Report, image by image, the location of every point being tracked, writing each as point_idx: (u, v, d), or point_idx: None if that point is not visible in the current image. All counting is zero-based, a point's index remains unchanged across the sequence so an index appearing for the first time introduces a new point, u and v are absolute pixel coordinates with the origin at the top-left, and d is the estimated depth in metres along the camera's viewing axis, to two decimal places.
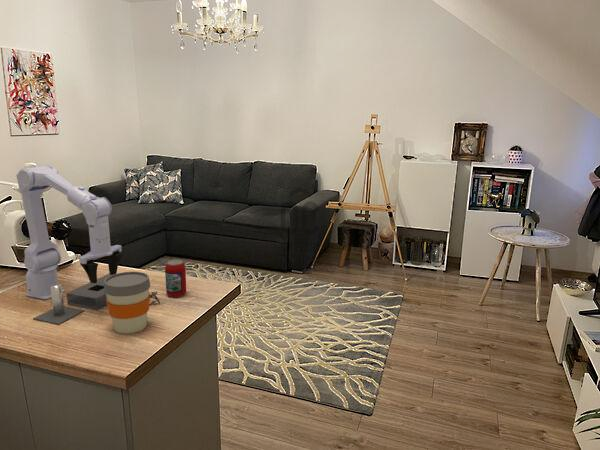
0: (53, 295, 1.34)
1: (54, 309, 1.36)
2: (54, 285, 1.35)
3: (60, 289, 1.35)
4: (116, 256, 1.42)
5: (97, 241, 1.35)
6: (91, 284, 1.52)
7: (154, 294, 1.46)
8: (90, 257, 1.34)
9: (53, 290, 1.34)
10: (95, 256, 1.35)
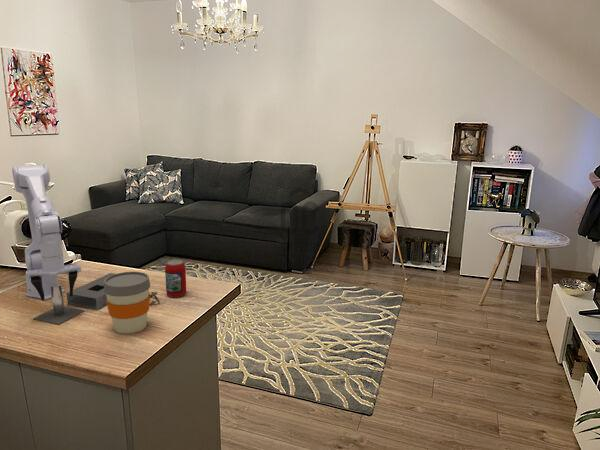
0: (53, 295, 1.34)
1: (54, 309, 1.36)
2: (54, 285, 1.35)
3: (60, 289, 1.35)
4: (68, 277, 1.34)
5: (43, 258, 1.30)
6: (91, 284, 1.52)
7: (154, 294, 1.46)
8: (34, 273, 1.31)
9: (53, 290, 1.34)
10: (39, 273, 1.31)
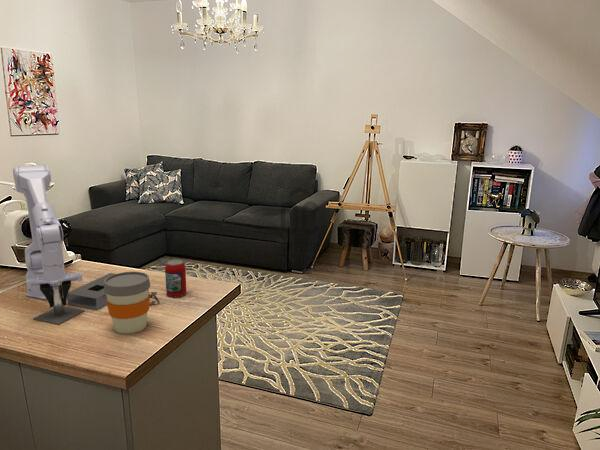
0: (53, 295, 1.34)
1: (54, 309, 1.36)
2: (54, 285, 1.35)
3: (60, 289, 1.35)
4: None
5: (44, 267, 1.31)
6: (91, 284, 1.52)
7: (154, 294, 1.46)
8: (35, 282, 1.31)
9: (53, 290, 1.34)
10: (40, 282, 1.31)
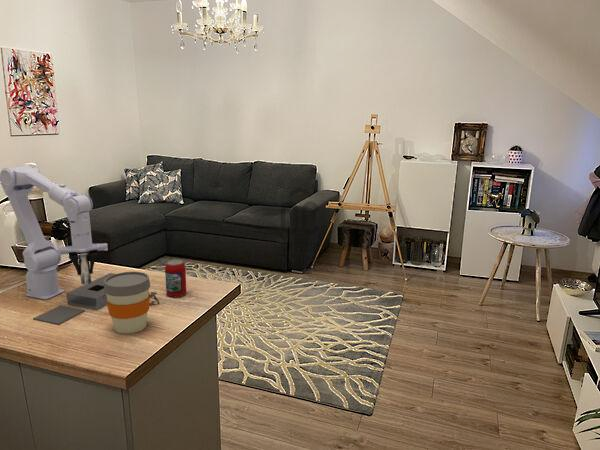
0: (80, 264, 1.42)
1: (81, 277, 1.43)
2: (82, 254, 1.42)
3: (87, 258, 1.42)
4: (89, 255, 1.41)
5: (72, 236, 1.38)
6: (91, 284, 1.52)
7: (153, 294, 1.46)
8: (64, 250, 1.39)
9: (80, 259, 1.41)
10: (69, 250, 1.39)
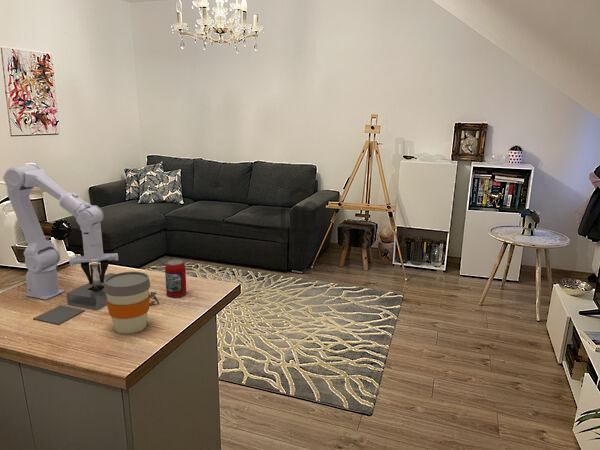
0: (92, 273, 1.46)
1: (93, 286, 1.47)
2: (93, 264, 1.47)
3: (98, 268, 1.47)
4: (100, 265, 1.45)
5: (85, 247, 1.43)
6: (91, 284, 1.52)
7: (153, 294, 1.45)
8: (76, 260, 1.43)
9: (92, 268, 1.45)
10: (81, 260, 1.43)
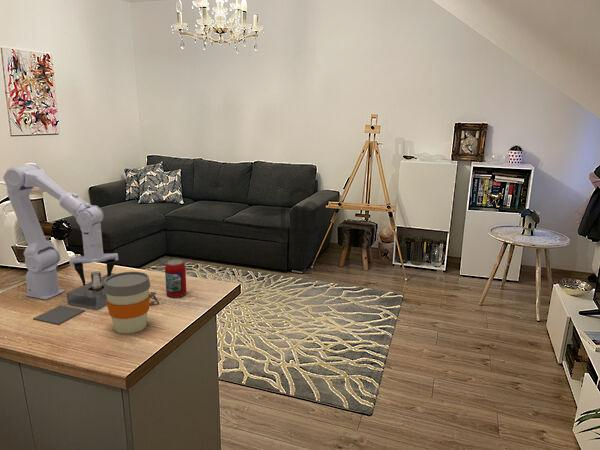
0: (93, 281, 1.47)
1: None
2: (94, 272, 1.47)
3: (99, 276, 1.47)
4: (107, 264, 1.46)
5: (85, 247, 1.43)
6: (91, 284, 1.52)
7: (153, 294, 1.45)
8: (76, 260, 1.43)
9: (93, 277, 1.46)
10: (81, 260, 1.43)
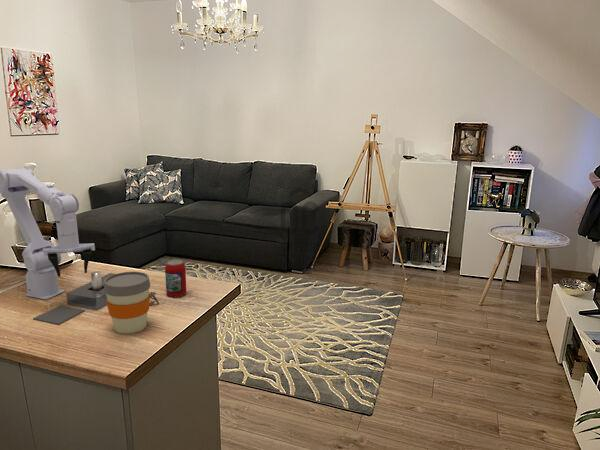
0: (93, 281, 1.47)
1: None
2: (94, 272, 1.47)
3: (99, 276, 1.47)
4: (83, 254, 1.42)
5: (59, 236, 1.38)
6: (91, 284, 1.52)
7: (153, 294, 1.45)
8: (51, 250, 1.38)
9: (93, 277, 1.46)
10: (56, 250, 1.38)
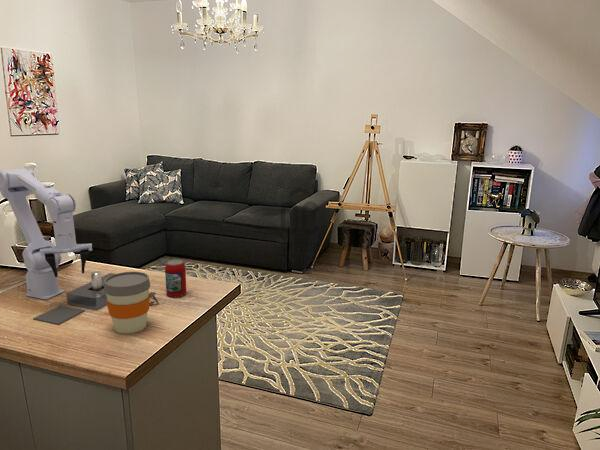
0: (93, 281, 1.47)
1: None
2: (94, 272, 1.47)
3: (99, 276, 1.47)
4: (80, 254, 1.41)
5: (56, 236, 1.38)
6: (91, 284, 1.52)
7: (152, 295, 1.45)
8: (47, 251, 1.38)
9: (93, 277, 1.46)
10: (52, 251, 1.38)
